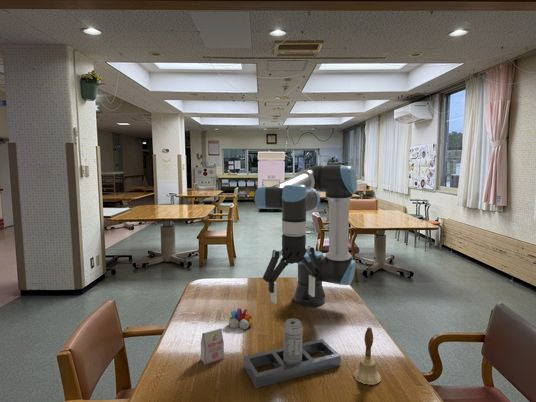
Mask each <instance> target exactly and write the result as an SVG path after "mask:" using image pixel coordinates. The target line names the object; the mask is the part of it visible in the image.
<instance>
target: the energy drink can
mask: <svg viewBox="0 0 536 402" xmlns="http://www.w3.org/2000/svg"><path fill="white" fill-rule="evenodd" d="M302 343H303V325H302V322H301V320H300V319H298V318H294V317H293V318H287V319H286V320H285V322H284V325H283V348H284V356H283V362H284V363H285V364H286V366H287V365H291V364H295V363H299V362H302Z"/></svg>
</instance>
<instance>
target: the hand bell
mask: <svg viewBox="0 0 536 402" xmlns="http://www.w3.org/2000/svg"><path fill="white" fill-rule="evenodd" d="M373 344H374V334H373V329H372V327H369V326H368V327H367V329H366V330H365V332H364V345H365V354H364V355H365V356H364V357H361V359H360V361H359V366H358V368H357V369H356V370H355V371H354V373H353V378H354V377H355V378H354V380H355V381H357V382H358V381H359V382H361V383H363V384H362V385H364V384H377V383H379V382H380V381H381V382H382V376H381V375H380V373H379V372H378V371H377V367H376V361H375V360H374V359H373V358H372V346H373ZM359 382H358V383H359ZM381 382H380V383H381ZM361 383H360V384H361ZM380 383H379V384H380ZM377 385H378V384H377Z"/></svg>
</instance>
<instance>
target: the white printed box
mask: <svg viewBox="0 0 536 402" xmlns="http://www.w3.org/2000/svg"><path fill="white" fill-rule="evenodd" d="M200 339H201V340H200V360H201V362H203V365H205V366H206V365H209V364H212V363H215V362H219V361H221V360H224V359H225V343H224V342H225V341H224V337H223V329H222V328H218V329H213V330H210V331H206V332H202V335H201V338H200Z"/></svg>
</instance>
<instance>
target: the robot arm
mask: <svg viewBox="0 0 536 402" xmlns="http://www.w3.org/2000/svg"><path fill="white" fill-rule="evenodd" d="M357 189H358V179H357V174H356V171H355V169H354V168H353V167H352V166H350V165H343V164H342V165H337V164H336V165H322V164H321V165H314V166H310V167H307V168H305V169H301V170H299V171H297V172H296V174H295V175H294V176H292V177H290V178H287V179H284V180H283V181H281V182H277V183H276V184H274V185H271V186H259V187H258V188H257V189H256V190H255V192H254V203H255V205H256V206H257V207H259V208H264V209H272V210H273V209H274V210H275V209H277V210H282V214H281V215H282V216H281V224H282V225H281V232H282V235H281V247H282V248H281V250H276V249H273V250H272V253H271V259H270V261H269V263H268V265H267V267H266V270H265V271H264V274H263V276H262V280H264V281H265V282H266V283H268V292H269V293H270V300H271V302H272V303H273V304H274V305H276V304H277V303H278V294H277V293H278V283H277V282H276V281H277V279H278V278H279V277H280V275H281V273H282V272H283V271H284V270H285V268H286V267H287V266H288V265H289V264H290V265H292V264H297V285H296V287H295V290H294V293H293V300H294V302H295V303H297V304H298V305H301V306H306V307H316V306H317V307H318V306H321V305H324V304H325V303H326V294H325V290H324V287H323V283H327V284H328V283H329V284H335V285H339V286H350V285H351V283H352V281H353V280H354V279H353V278H354V277H355V272H356V266H357V263H356V260H354V259H353V256H352V254H351V253H350V251H349V233H350V232H349V227H350V226H349V225H350V224H349V223H350V220H349V218H350V217H349V216H350V214H349V213H350V211H349V210H350V200H351V199H352V198H353V194H355V193H356V192H357ZM319 192H323V193H325V198H326V199H327V200H328V252H326V253H325V255H324V254H323V252H321V251H318V250H317V251H316V250H315V248H314V247H313V246H311V245H308V246H307V247H306V245H307V236H306V234H307V212H309V211H310V212H311V211H313V210H314V209H315V208H317V207H318V206H319V205H320V202H321V196H320V193H319ZM281 256H282V257H281ZM279 259H280V260H279Z"/></svg>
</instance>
